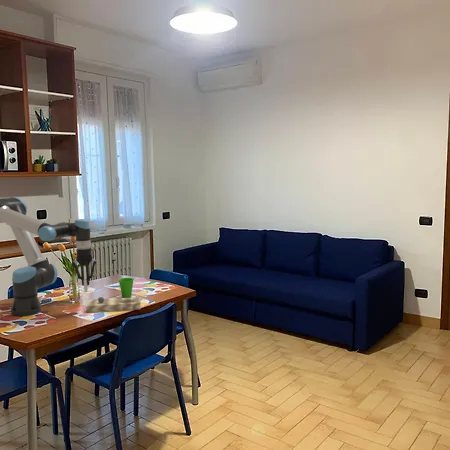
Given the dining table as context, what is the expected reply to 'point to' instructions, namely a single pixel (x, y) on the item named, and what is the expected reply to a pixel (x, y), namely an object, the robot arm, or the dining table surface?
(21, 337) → the dining table surface
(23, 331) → the dining table surface
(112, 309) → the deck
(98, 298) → the ball
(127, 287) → the cup
